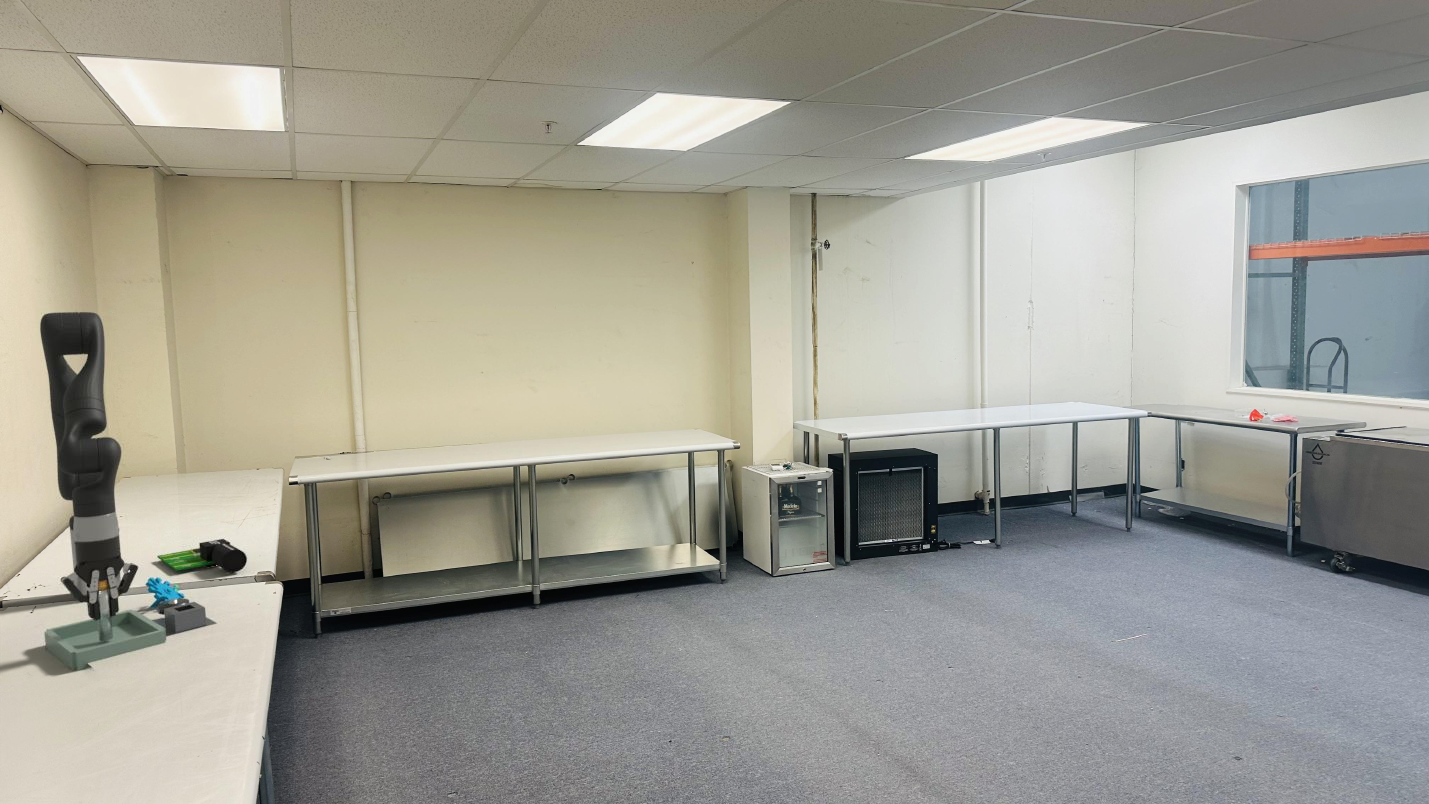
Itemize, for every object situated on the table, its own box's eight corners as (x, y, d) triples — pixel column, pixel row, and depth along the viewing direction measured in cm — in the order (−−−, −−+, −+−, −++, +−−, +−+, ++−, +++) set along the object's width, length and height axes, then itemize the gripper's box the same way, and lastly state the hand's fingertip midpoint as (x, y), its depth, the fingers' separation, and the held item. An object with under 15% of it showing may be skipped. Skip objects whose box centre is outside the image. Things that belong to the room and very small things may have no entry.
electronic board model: (155, 537, 245) (215, 527, 256) (157, 561, 246) (217, 550, 256) (187, 558, 224) (251, 546, 235) (189, 584, 225) (252, 571, 236)
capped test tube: (97, 639, 183) (91, 580, 181) (111, 635, 185) (106, 577, 183) (100, 641, 181) (95, 582, 180) (115, 638, 183) (110, 579, 182)
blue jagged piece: (176, 608, 202) (142, 578, 201) (157, 627, 201) (122, 598, 200) (197, 599, 213) (165, 571, 212) (179, 617, 212) (146, 589, 211)
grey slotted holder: (144, 627, 194) (142, 602, 194) (194, 614, 202) (192, 591, 201) (166, 640, 186) (164, 615, 185) (217, 627, 193) (215, 603, 193)
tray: (44, 646, 183) (42, 630, 183) (134, 624, 196) (133, 609, 196) (74, 671, 170) (72, 654, 170) (168, 646, 183) (167, 629, 182)
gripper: (129, 526, 188) (136, 604, 190) (50, 539, 178) (58, 622, 180) (142, 531, 184) (148, 612, 185) (61, 545, 173) (69, 631, 175)
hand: (103, 617), depth 182 cm, fingers closed on capped test tube, 2 cm apart
